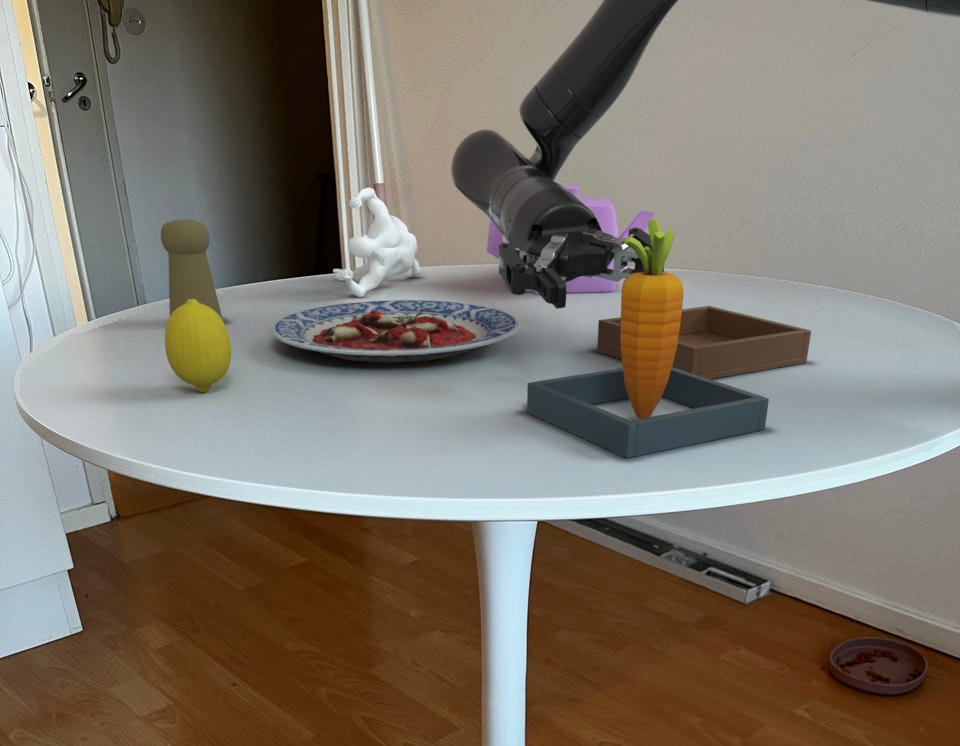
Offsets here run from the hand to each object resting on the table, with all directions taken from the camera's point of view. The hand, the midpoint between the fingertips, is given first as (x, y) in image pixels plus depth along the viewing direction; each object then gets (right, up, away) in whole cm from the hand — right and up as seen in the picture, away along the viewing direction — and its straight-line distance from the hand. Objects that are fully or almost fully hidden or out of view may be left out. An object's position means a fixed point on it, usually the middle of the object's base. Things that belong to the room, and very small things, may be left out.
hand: (610, 290), depth 84 cm
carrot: (+2, -12, -3) cm, 12 cm away
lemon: (-36, -7, +5) cm, 37 cm away
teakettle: (+1, +19, +53) cm, 56 cm away
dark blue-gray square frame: (+2, -12, -3) cm, 12 cm away
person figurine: (-24, +18, +50) cm, 58 cm away
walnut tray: (+11, -1, +16) cm, 19 cm away
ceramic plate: (-20, +1, +21) cm, 29 cm away
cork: (-44, +7, +31) cm, 54 cm away
